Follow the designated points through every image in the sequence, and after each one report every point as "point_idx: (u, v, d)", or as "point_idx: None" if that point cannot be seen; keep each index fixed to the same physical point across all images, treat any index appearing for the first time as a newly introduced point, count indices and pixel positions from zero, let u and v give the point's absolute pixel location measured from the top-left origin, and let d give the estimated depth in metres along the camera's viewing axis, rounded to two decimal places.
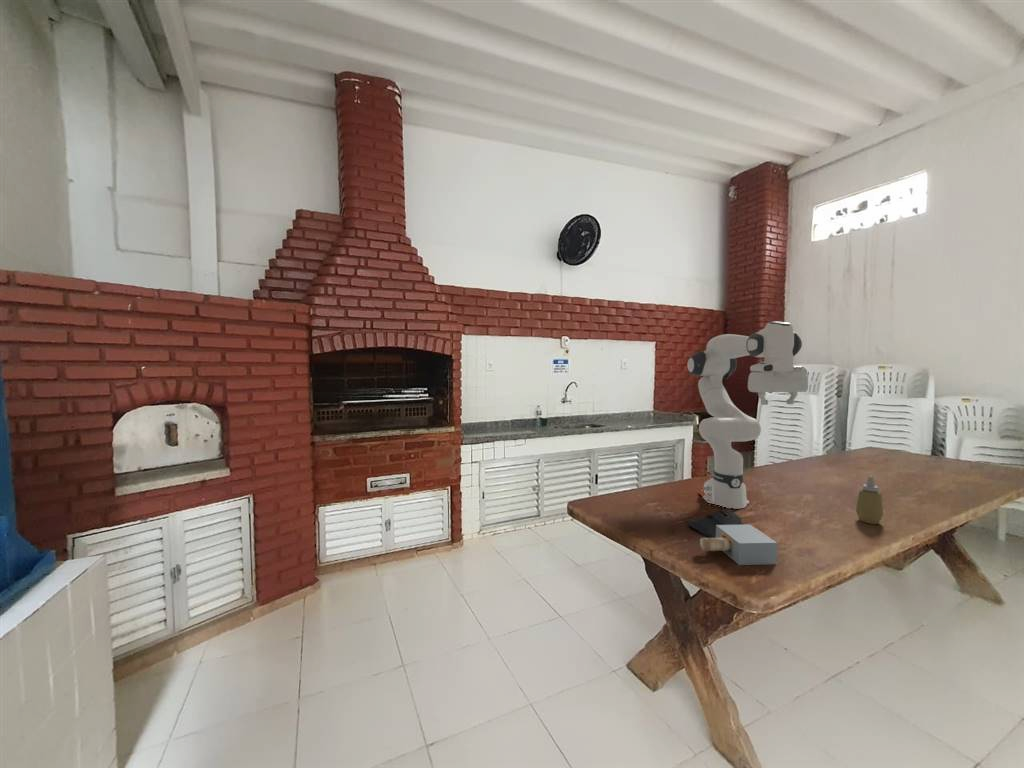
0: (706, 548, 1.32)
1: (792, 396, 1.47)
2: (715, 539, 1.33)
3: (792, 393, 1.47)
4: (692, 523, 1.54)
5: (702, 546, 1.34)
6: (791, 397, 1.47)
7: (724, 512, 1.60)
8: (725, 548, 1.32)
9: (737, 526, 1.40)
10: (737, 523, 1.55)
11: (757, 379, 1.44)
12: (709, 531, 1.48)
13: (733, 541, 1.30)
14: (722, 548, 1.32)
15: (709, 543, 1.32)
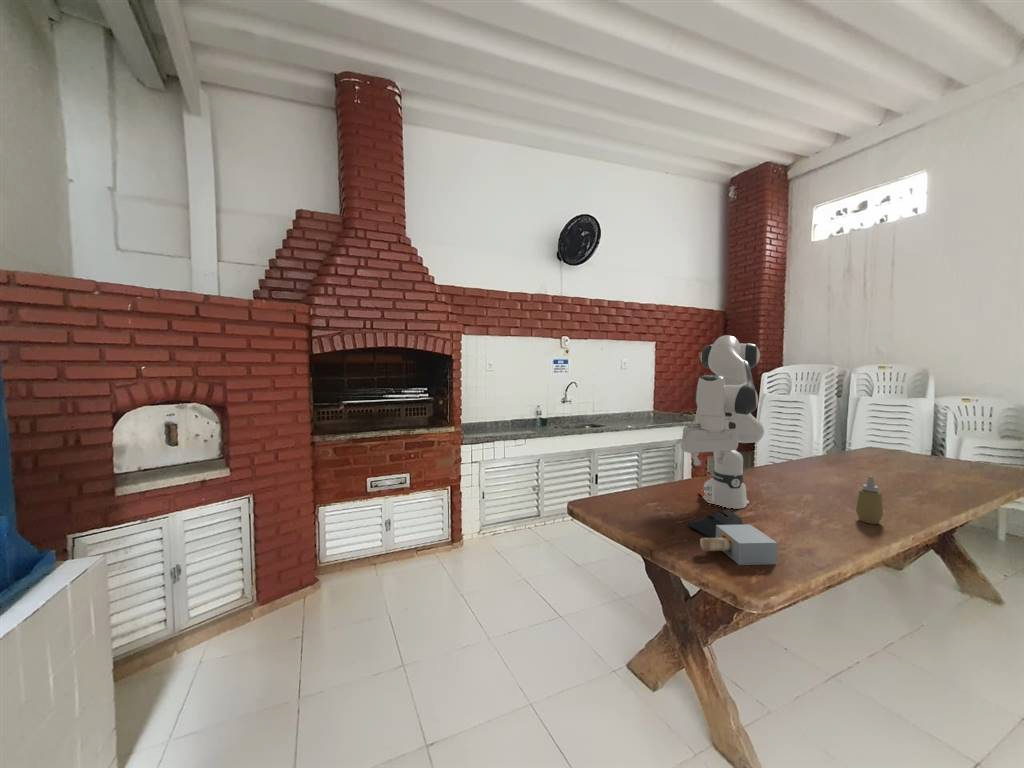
0: (706, 548, 1.32)
1: None
2: (715, 539, 1.33)
3: None
4: (692, 523, 1.54)
5: (702, 546, 1.34)
6: None
7: (725, 512, 1.60)
8: (725, 548, 1.32)
9: (737, 526, 1.40)
10: (738, 523, 1.54)
11: None
12: (709, 531, 1.48)
13: (733, 541, 1.30)
14: (722, 548, 1.32)
15: (709, 543, 1.32)
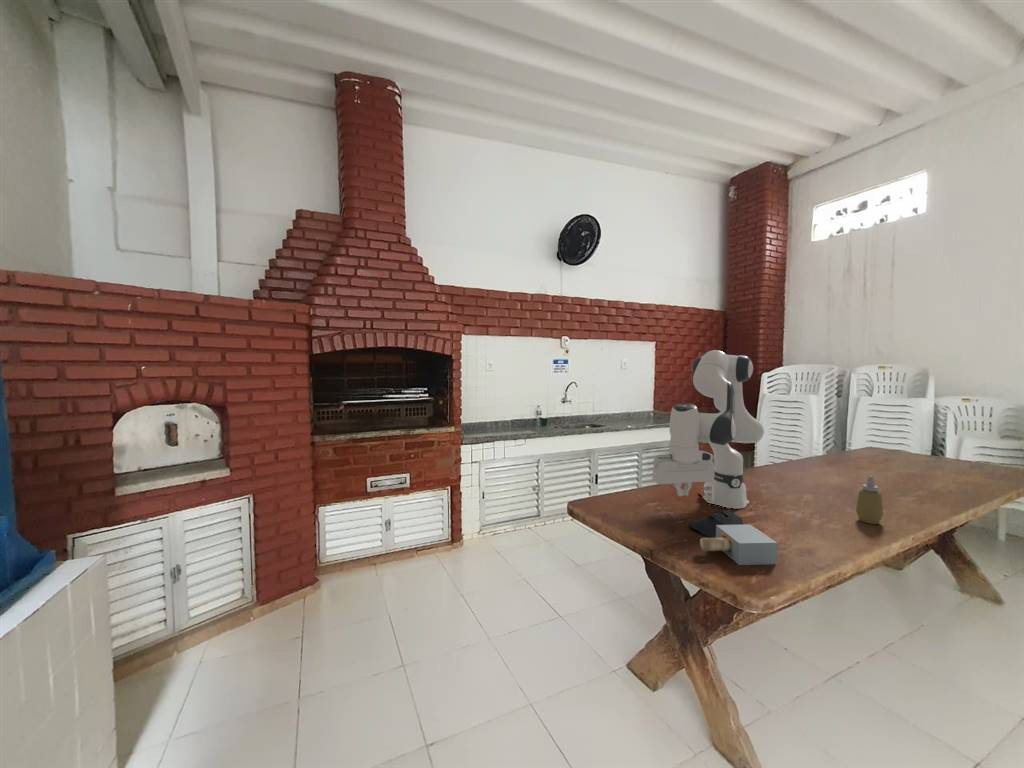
0: (706, 548, 1.32)
1: None
2: (715, 539, 1.33)
3: None
4: (693, 524, 1.53)
5: (702, 546, 1.34)
6: None
7: (725, 513, 1.59)
8: (725, 548, 1.32)
9: (737, 526, 1.40)
10: (738, 524, 1.54)
11: None
12: (710, 532, 1.48)
13: (733, 541, 1.30)
14: (722, 548, 1.32)
15: (709, 543, 1.32)
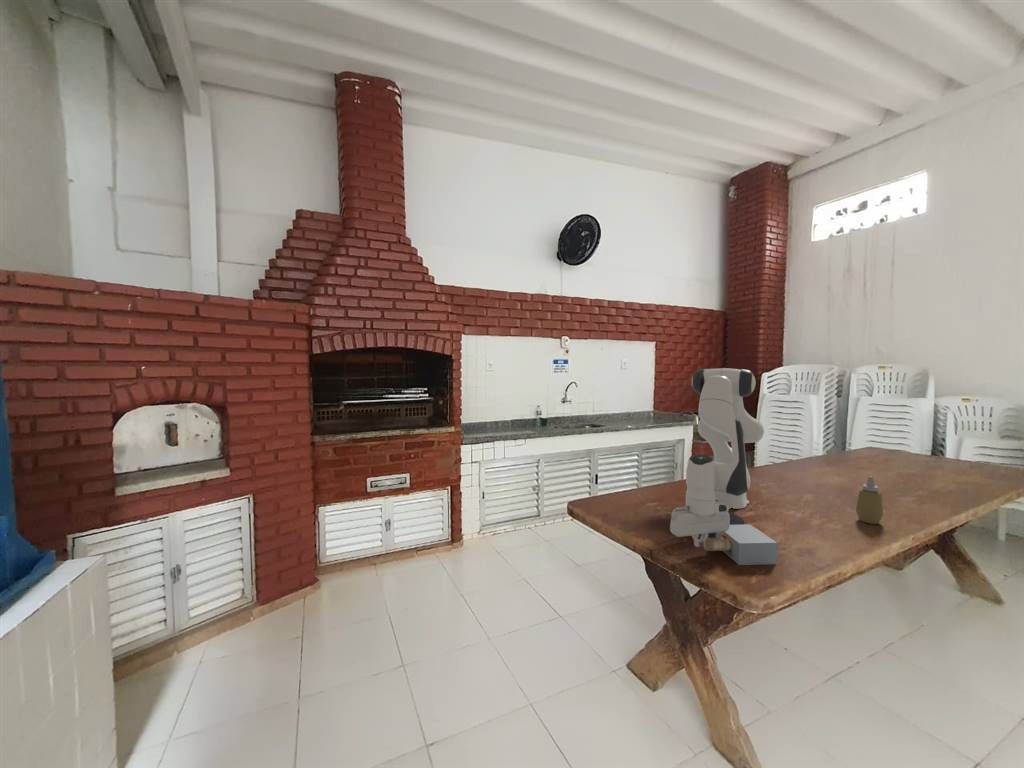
0: (709, 548, 1.32)
1: None
2: (718, 539, 1.33)
3: None
4: None
5: (705, 546, 1.34)
6: None
7: None
8: (728, 548, 1.32)
9: (737, 526, 1.40)
10: None
11: None
12: None
13: (733, 541, 1.30)
14: (725, 548, 1.32)
15: (712, 543, 1.32)
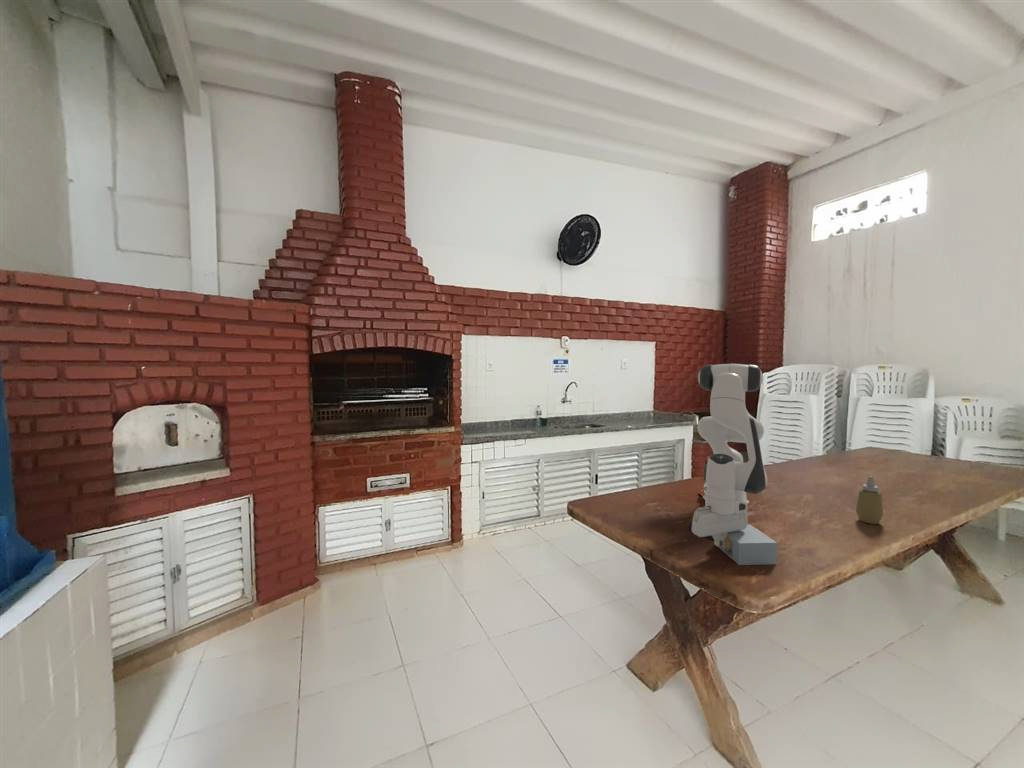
0: (728, 548, 1.32)
1: None
2: None
3: None
4: None
5: (724, 546, 1.34)
6: None
7: None
8: None
9: None
10: None
11: None
12: None
13: (733, 541, 1.30)
14: None
15: None
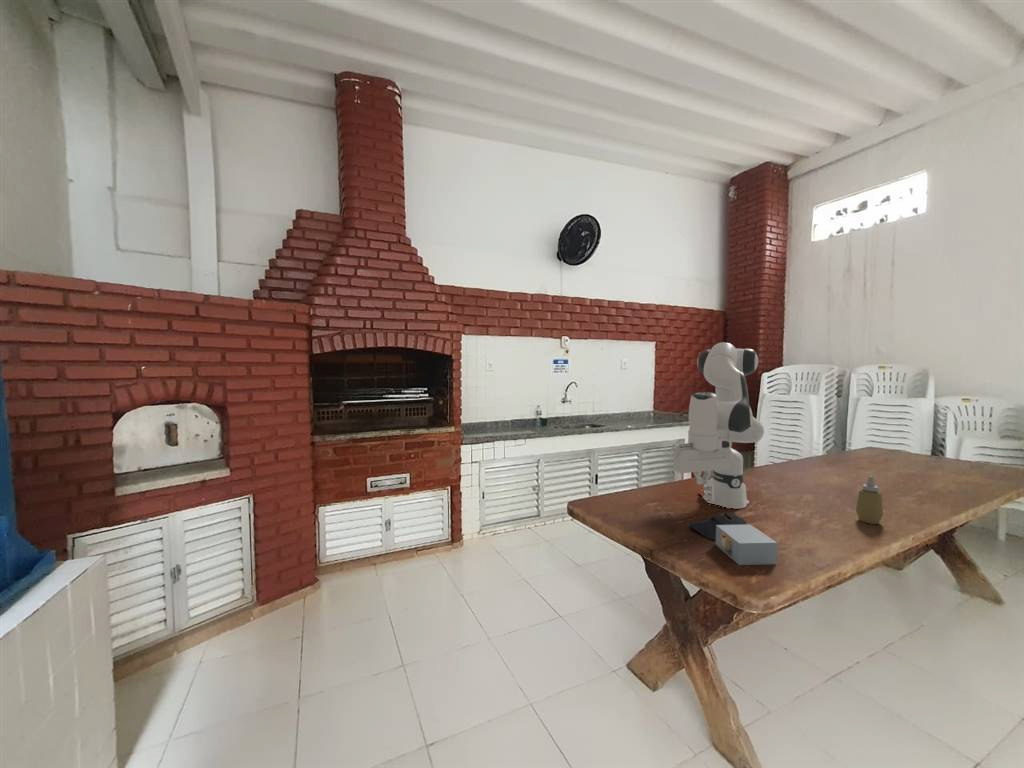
0: (728, 548, 1.32)
1: None
2: None
3: None
4: (693, 525, 1.52)
5: (724, 546, 1.34)
6: None
7: (728, 515, 1.57)
8: None
9: (737, 526, 1.40)
10: None
11: None
12: (710, 533, 1.46)
13: (733, 541, 1.30)
14: None
15: None
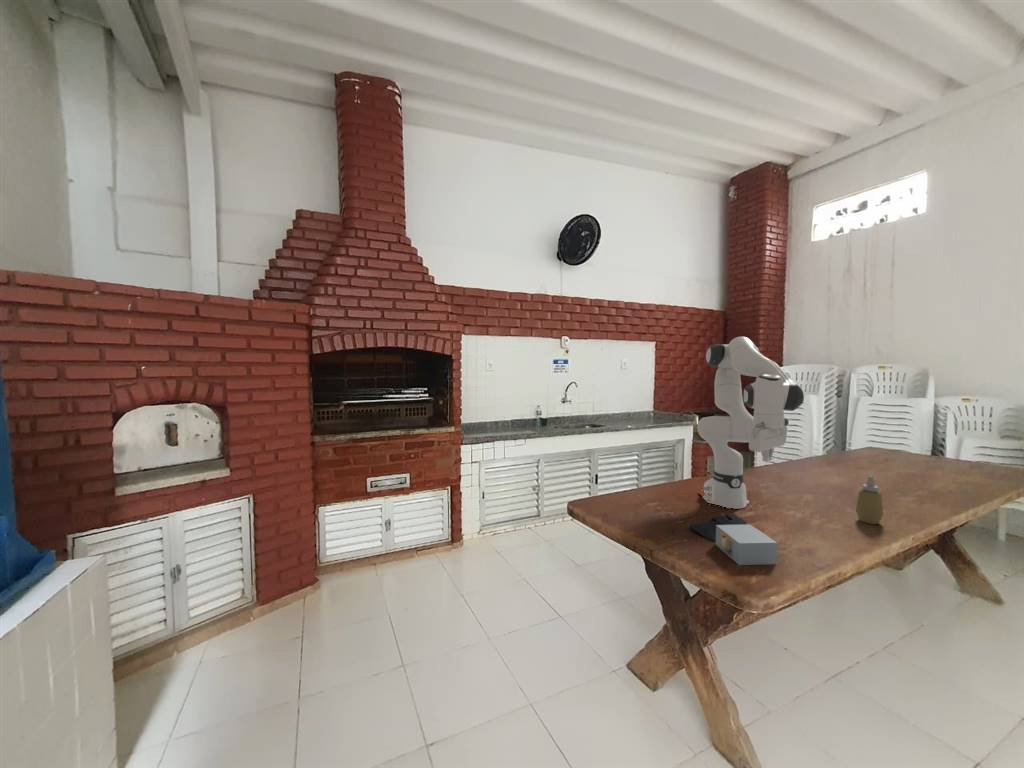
0: (728, 548, 1.32)
1: None
2: None
3: None
4: (694, 525, 1.52)
5: (724, 546, 1.34)
6: None
7: (729, 515, 1.57)
8: None
9: (737, 526, 1.40)
10: None
11: None
12: (710, 534, 1.46)
13: (733, 541, 1.30)
14: None
15: None
